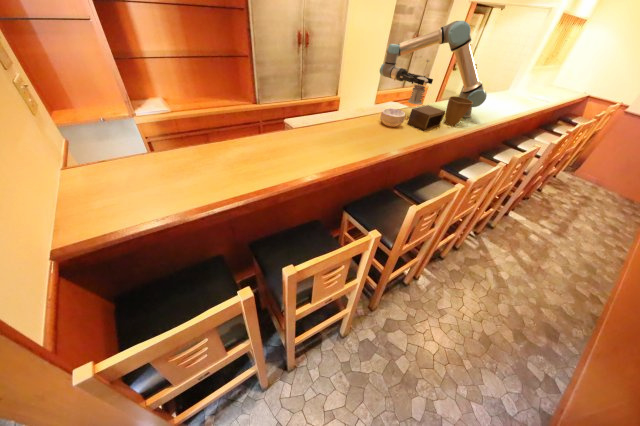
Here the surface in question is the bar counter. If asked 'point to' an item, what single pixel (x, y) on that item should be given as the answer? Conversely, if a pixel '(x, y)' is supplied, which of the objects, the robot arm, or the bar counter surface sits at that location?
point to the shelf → (425, 117)
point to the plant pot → (456, 109)
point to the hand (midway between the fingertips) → (427, 82)
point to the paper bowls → (392, 117)
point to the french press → (418, 91)
